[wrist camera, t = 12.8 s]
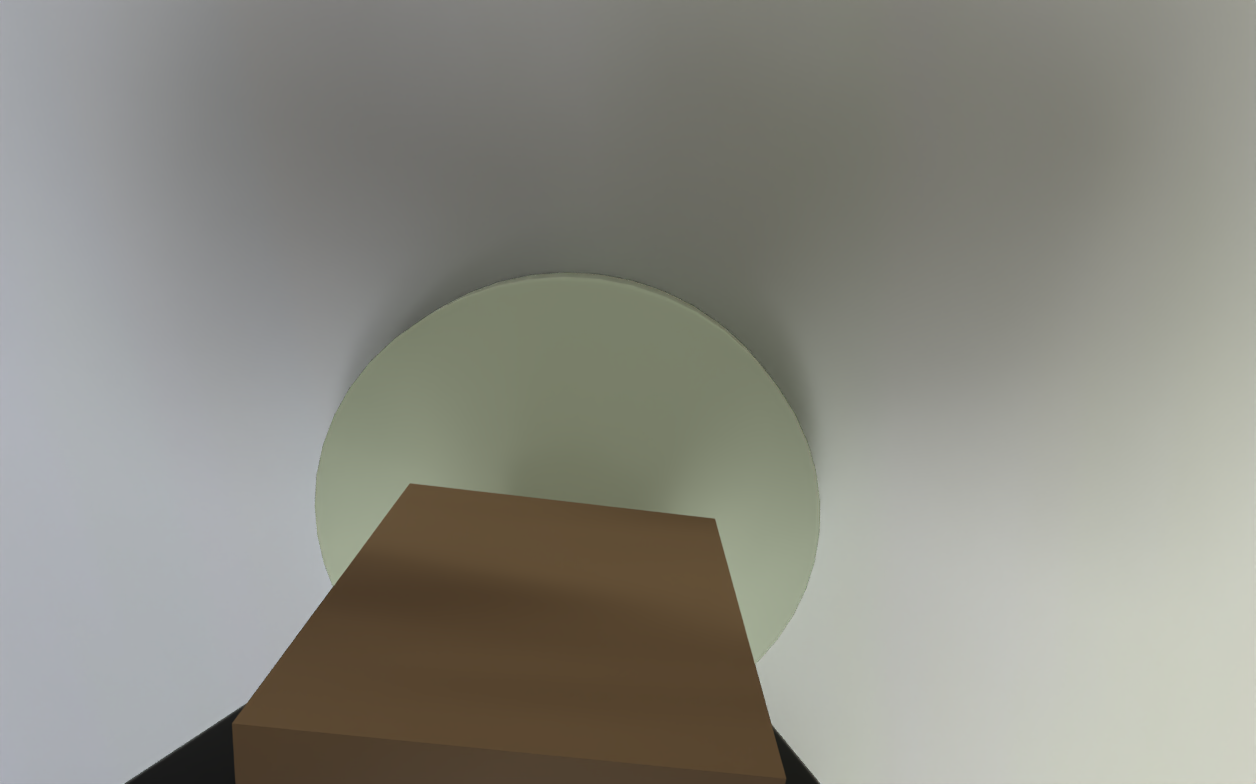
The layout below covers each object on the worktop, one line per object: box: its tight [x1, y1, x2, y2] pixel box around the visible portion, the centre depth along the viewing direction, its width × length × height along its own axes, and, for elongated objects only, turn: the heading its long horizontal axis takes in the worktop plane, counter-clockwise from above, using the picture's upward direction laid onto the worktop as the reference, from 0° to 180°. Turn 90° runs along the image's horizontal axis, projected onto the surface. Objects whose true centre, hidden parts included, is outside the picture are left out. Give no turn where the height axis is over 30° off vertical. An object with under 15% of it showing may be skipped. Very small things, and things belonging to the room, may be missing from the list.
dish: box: [315, 272, 820, 664], centre depth 12 cm, size 9×9×1 cm
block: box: [232, 483, 786, 784], centre depth 7 cm, size 4×4×4 cm
